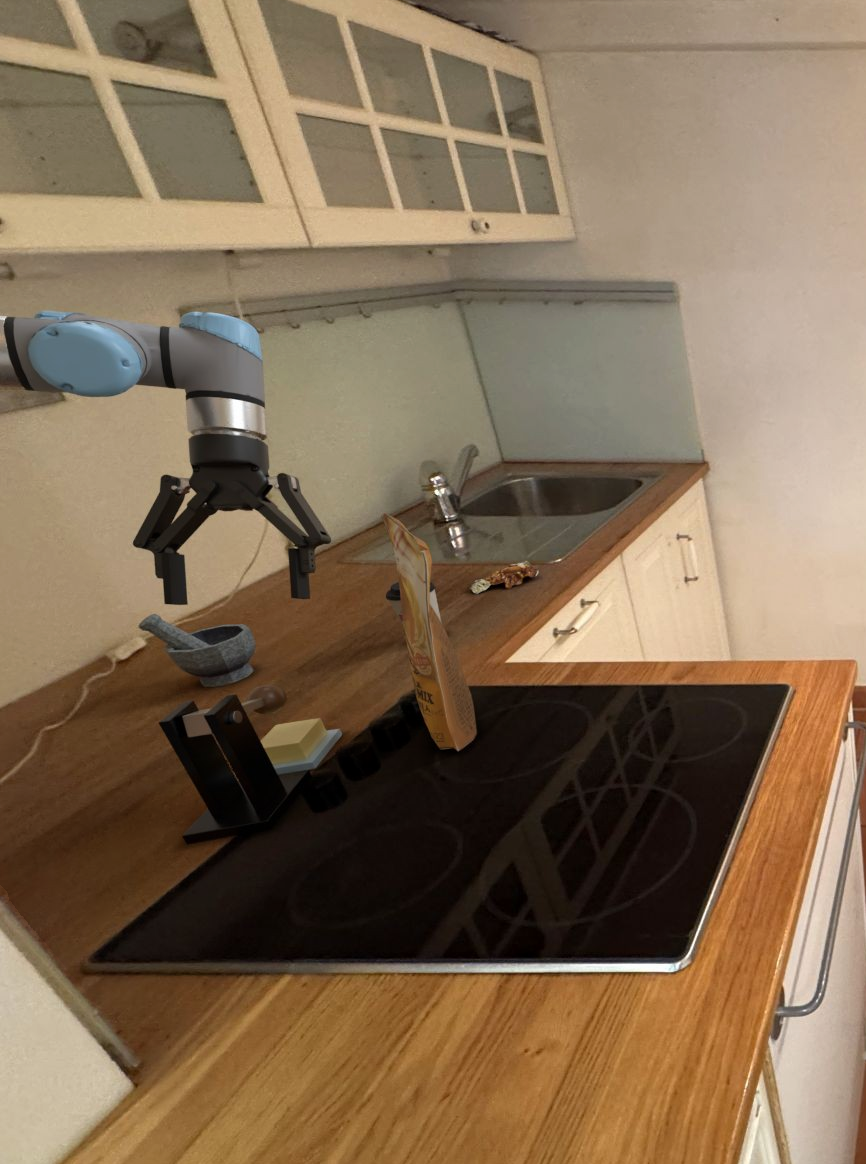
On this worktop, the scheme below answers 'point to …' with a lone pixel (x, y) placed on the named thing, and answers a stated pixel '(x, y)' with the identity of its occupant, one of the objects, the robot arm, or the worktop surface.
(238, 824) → the lever base
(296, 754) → the butter dish
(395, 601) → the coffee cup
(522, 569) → the pastry
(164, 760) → the worktop surface
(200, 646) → the mortar and pestle
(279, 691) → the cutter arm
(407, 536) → the pancake mix bag
